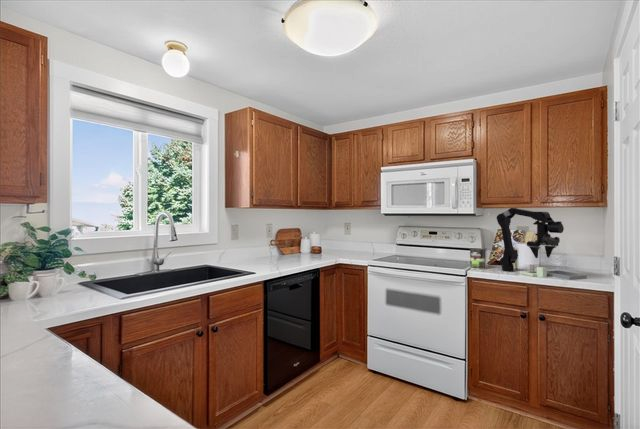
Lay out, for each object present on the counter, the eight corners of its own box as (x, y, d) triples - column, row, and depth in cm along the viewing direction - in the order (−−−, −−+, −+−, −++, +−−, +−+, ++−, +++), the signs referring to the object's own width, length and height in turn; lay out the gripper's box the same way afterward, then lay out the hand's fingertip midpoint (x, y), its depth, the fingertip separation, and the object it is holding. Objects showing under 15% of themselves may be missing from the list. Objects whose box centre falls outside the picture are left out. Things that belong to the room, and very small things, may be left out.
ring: (520, 273, 209) (520, 265, 209) (531, 272, 212) (531, 264, 212) (538, 277, 197) (538, 268, 197) (550, 276, 199) (550, 267, 199)
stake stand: (517, 275, 210) (517, 264, 210) (531, 274, 213) (531, 263, 213) (533, 278, 199) (533, 266, 199) (547, 277, 202) (547, 266, 202)
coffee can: (482, 270, 227) (482, 250, 227) (467, 268, 235) (467, 248, 235) (488, 268, 234) (488, 249, 234) (473, 266, 242) (473, 247, 242)
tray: (541, 276, 207) (541, 271, 207) (558, 274, 210) (558, 270, 210) (569, 281, 190) (569, 276, 190) (587, 280, 193) (587, 275, 193)
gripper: (543, 233, 189) (542, 260, 189) (567, 232, 194) (567, 259, 194) (526, 232, 200) (525, 257, 200) (549, 231, 205) (549, 256, 205)
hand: (542, 257), depth 199 cm, fingers open, 9 cm apart
